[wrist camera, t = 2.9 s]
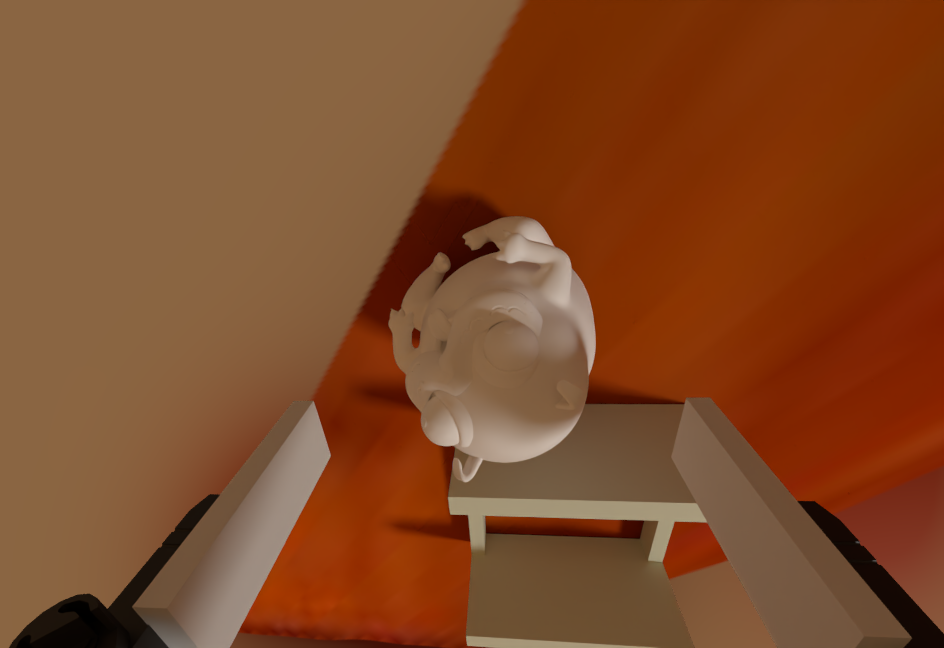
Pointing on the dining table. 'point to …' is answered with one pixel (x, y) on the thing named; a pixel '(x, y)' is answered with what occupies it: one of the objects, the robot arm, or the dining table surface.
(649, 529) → the beige open frame
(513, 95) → the dining table surface
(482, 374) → the figurine
